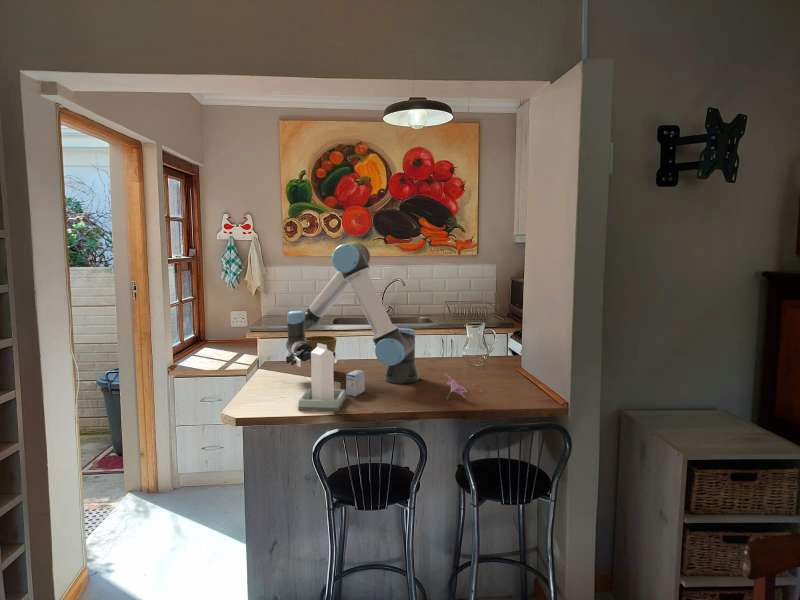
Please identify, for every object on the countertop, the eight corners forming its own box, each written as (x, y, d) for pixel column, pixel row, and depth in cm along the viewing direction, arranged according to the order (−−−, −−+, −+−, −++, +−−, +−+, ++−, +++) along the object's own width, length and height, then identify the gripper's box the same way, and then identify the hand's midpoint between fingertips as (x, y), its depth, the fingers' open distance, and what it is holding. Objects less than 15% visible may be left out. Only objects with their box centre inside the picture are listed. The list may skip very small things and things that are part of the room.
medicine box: (355, 389, 211) (355, 369, 210) (365, 391, 210) (365, 370, 208) (346, 395, 204) (345, 374, 203) (355, 396, 202) (355, 375, 201)
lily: (466, 407, 193) (475, 384, 195) (438, 395, 193) (447, 372, 195) (460, 407, 204) (468, 385, 206) (433, 395, 204) (441, 373, 206)
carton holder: (345, 398, 200) (345, 389, 199) (338, 411, 185) (338, 401, 185) (308, 397, 201) (308, 388, 200) (298, 410, 186) (298, 400, 186)
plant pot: (340, 373, 236) (340, 339, 234) (309, 377, 231) (308, 342, 229) (332, 366, 250) (331, 334, 248) (302, 369, 244) (301, 336, 242)
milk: (324, 397, 197) (323, 341, 195) (334, 401, 193) (333, 343, 190) (311, 401, 193) (310, 343, 190) (321, 404, 188) (320, 346, 186)
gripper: (330, 356, 222) (347, 367, 203) (273, 362, 212) (285, 374, 193) (330, 339, 221) (347, 349, 203) (272, 344, 211) (284, 355, 192)
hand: (317, 361), depth 197 cm, fingers open, 13 cm apart
